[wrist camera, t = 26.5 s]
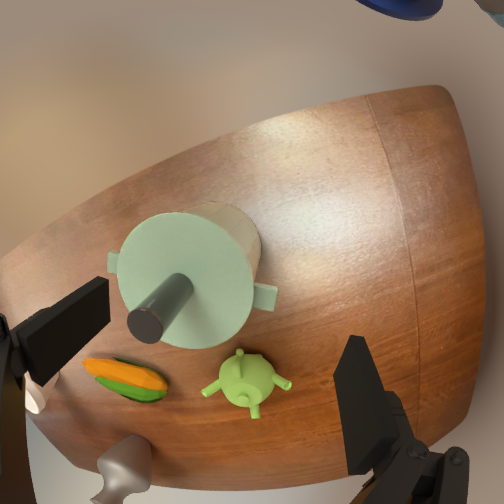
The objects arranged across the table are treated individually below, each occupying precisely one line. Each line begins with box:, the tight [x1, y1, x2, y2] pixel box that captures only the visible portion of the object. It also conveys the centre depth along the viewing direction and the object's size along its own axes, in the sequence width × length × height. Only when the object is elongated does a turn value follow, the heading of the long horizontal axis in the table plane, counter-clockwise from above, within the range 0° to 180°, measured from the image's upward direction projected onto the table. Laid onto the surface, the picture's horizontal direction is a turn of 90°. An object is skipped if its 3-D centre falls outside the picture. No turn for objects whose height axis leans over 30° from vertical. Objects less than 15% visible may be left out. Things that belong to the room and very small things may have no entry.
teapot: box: [201, 349, 292, 419], centre depth 42 cm, size 11×12×8 cm
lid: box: [117, 212, 254, 349], centre depth 24 cm, size 15×15×9 cm
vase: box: [90, 434, 152, 504], centre depth 46 cm, size 14×14×25 cm
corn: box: [82, 357, 168, 403], centre depth 47 cm, size 7×8×20 cm
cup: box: [24, 371, 59, 414], centre depth 49 cm, size 12×12×14 cm
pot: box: [107, 201, 279, 312], centre depth 34 cm, size 14×19×14 cm
